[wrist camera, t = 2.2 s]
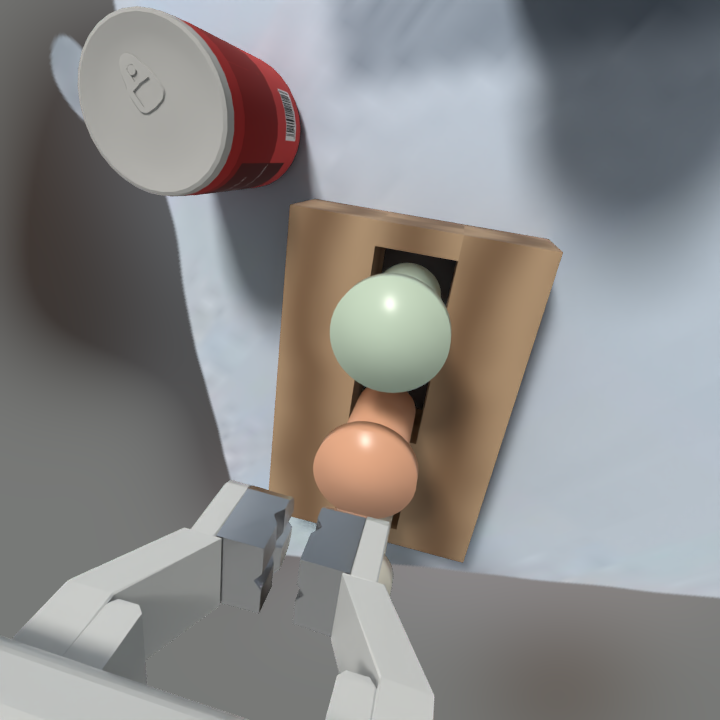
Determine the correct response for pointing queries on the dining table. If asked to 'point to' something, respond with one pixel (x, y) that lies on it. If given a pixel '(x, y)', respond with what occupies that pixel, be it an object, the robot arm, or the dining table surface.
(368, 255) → the walnut board
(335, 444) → the peach mushroom knob
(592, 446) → the dining table surface
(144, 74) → the canned food
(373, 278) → the sage plunger
